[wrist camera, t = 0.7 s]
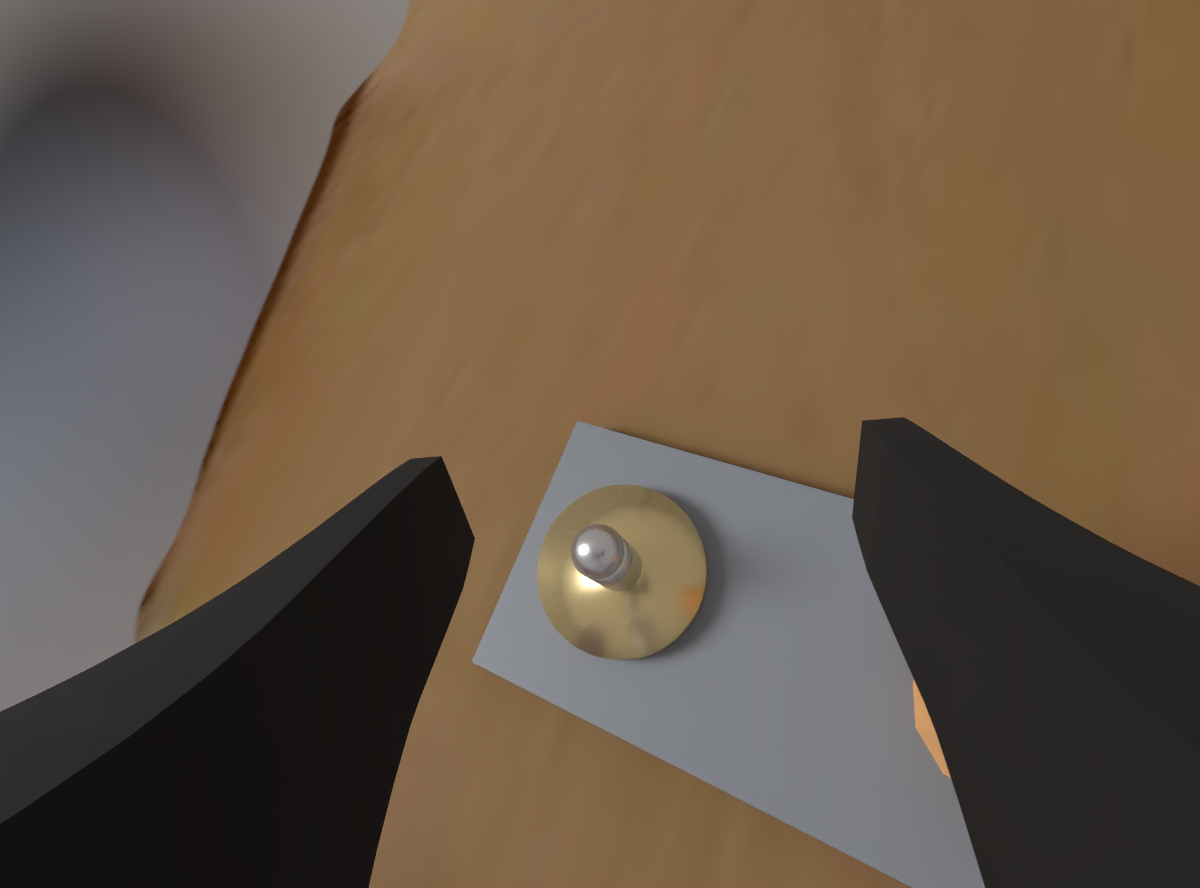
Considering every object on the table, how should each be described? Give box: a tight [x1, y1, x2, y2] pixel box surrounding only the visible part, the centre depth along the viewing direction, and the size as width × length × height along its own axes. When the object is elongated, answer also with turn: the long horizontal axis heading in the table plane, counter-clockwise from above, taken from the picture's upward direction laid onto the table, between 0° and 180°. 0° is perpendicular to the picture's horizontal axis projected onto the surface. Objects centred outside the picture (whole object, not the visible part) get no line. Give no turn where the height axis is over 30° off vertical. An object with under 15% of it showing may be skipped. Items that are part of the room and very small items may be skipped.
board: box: [472, 421, 985, 888], centre depth 20 cm, size 24×12×5 cm, turn 67°
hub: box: [537, 485, 708, 660], centre depth 21 cm, size 7×7×5 cm
